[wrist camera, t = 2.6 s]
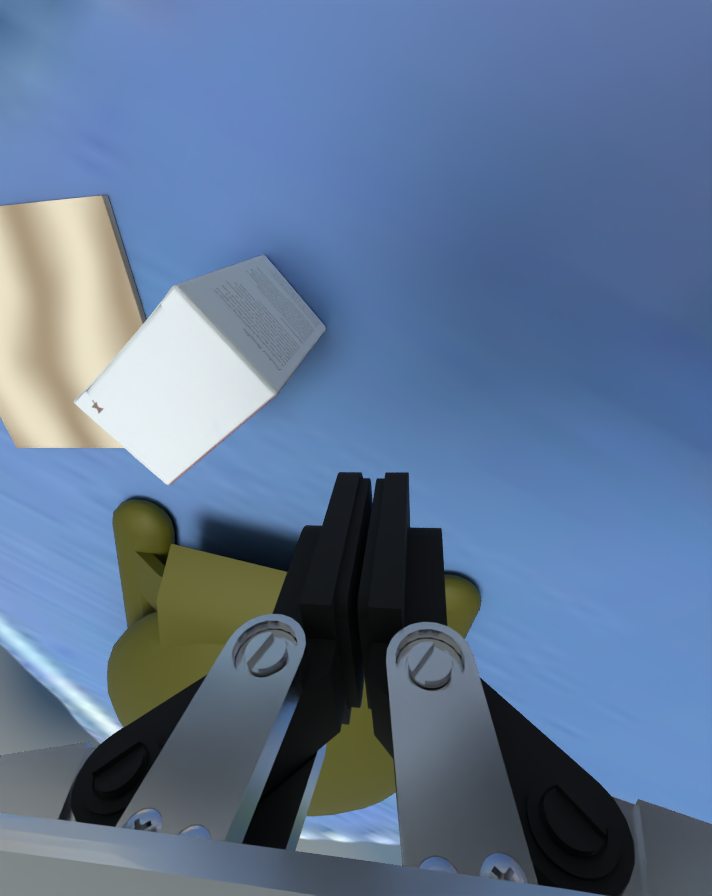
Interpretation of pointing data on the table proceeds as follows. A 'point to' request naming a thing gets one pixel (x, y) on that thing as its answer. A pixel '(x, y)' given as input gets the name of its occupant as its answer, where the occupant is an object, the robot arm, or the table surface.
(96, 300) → the board
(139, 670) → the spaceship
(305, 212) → the table surface
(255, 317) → the small box
